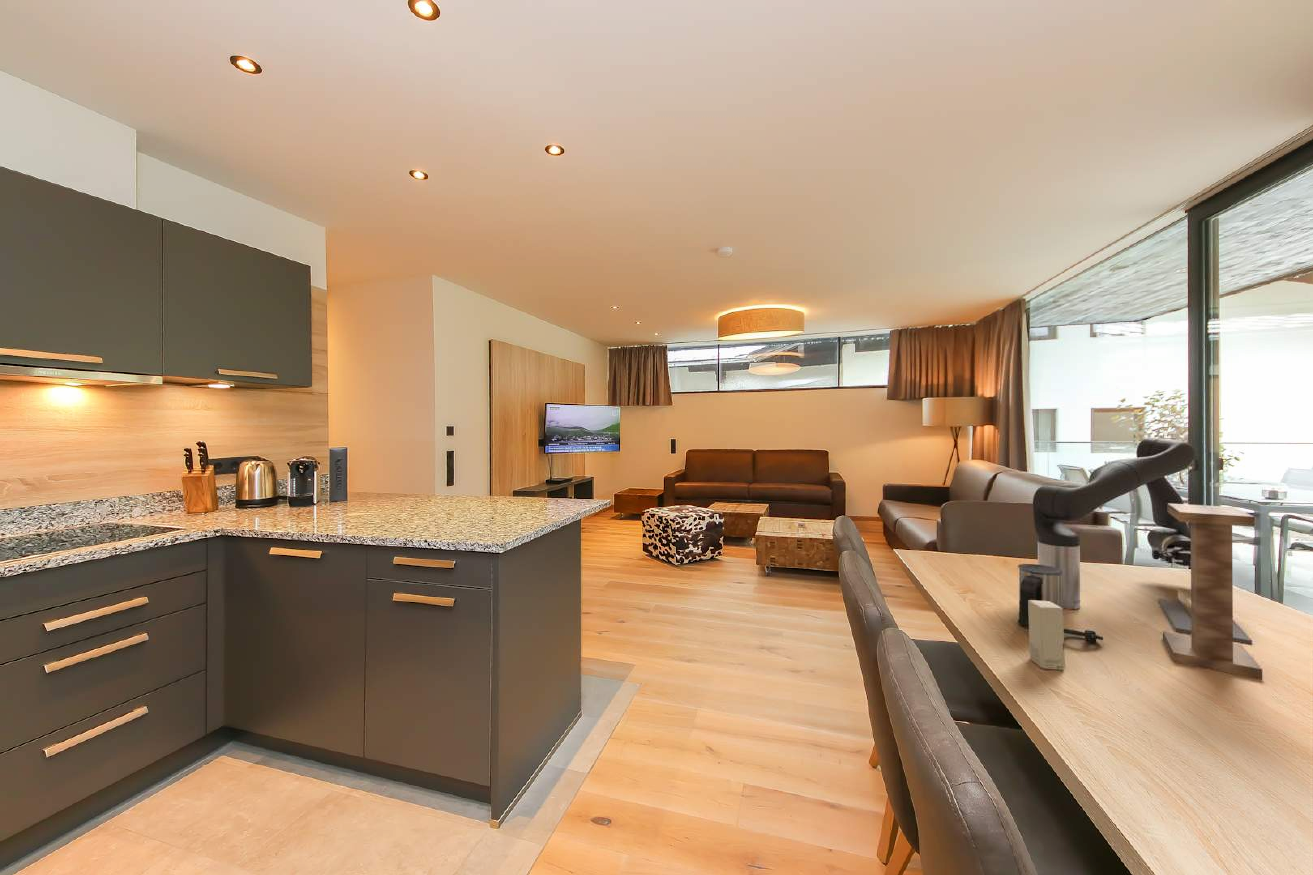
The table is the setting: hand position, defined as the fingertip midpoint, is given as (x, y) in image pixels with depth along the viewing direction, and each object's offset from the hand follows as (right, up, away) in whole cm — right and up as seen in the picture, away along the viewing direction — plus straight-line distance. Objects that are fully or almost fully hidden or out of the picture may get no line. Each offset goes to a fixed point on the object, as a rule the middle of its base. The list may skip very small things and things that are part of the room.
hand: (1193, 561), depth 130 cm
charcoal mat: (-4, -14, -5) cm, 15 cm away
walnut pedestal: (-25, -14, -25) cm, 38 cm away
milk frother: (-46, -15, -11) cm, 49 cm away
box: (-61, -15, -27) cm, 68 cm away
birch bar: (-1, -13, -2) cm, 13 cm away
